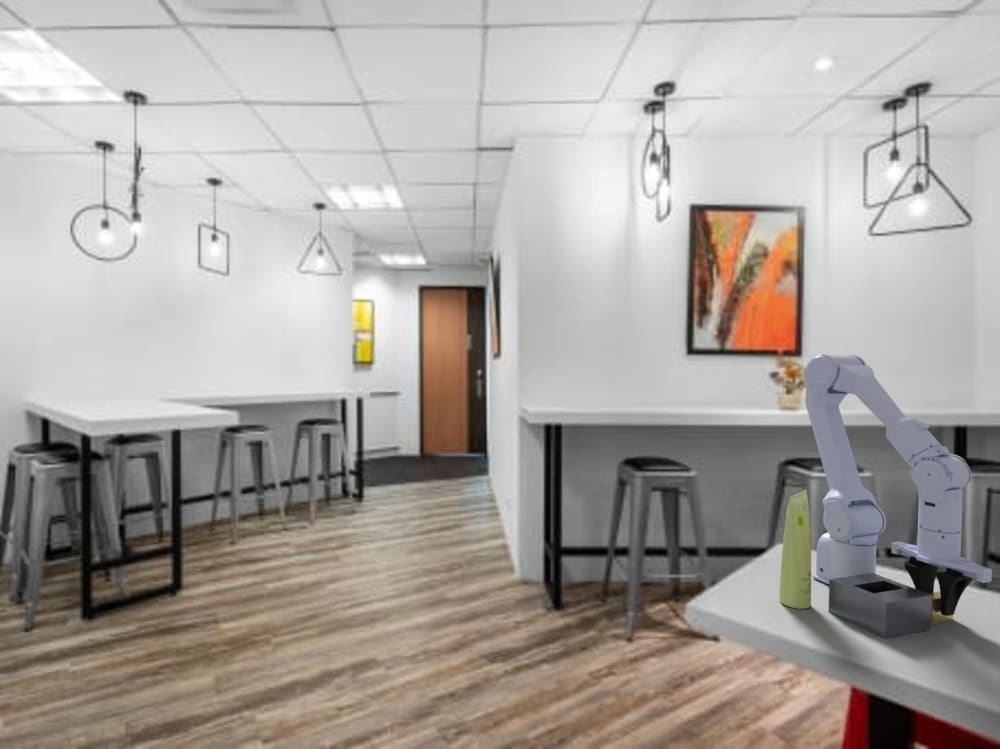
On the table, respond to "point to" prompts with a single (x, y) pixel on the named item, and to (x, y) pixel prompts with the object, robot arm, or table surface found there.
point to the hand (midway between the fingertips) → (936, 610)
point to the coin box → (880, 604)
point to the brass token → (937, 609)
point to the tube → (796, 554)
